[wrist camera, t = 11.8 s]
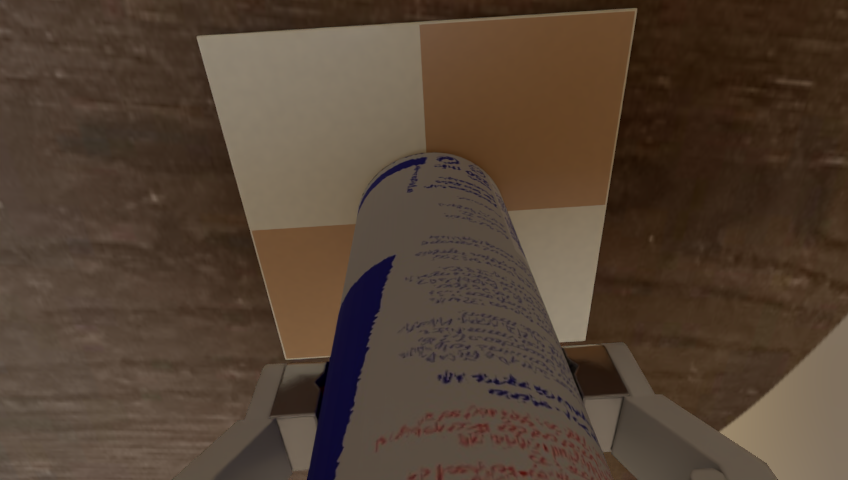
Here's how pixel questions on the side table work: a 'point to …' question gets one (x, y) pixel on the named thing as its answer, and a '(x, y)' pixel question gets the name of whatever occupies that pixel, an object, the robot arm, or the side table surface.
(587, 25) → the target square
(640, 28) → the side table surface
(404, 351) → the beverage can
